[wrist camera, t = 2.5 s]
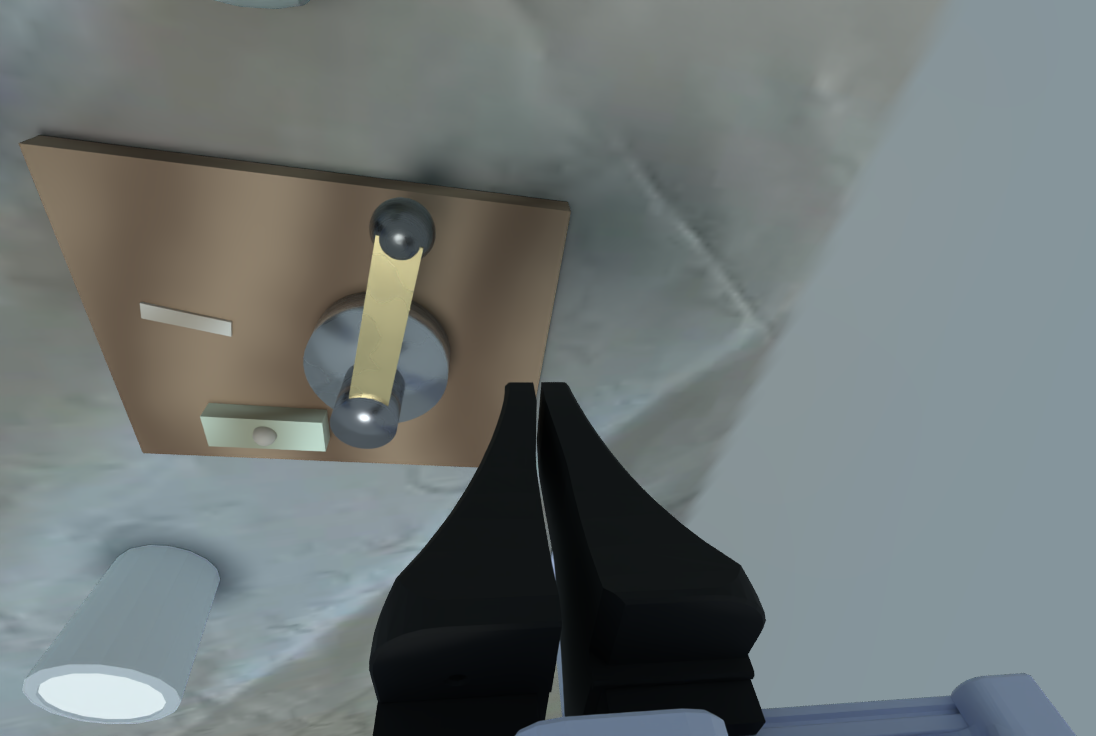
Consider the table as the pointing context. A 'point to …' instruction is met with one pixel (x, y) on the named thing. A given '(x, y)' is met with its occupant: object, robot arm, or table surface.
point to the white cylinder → (129, 640)
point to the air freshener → (266, 3)
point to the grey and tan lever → (381, 337)
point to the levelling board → (286, 295)
